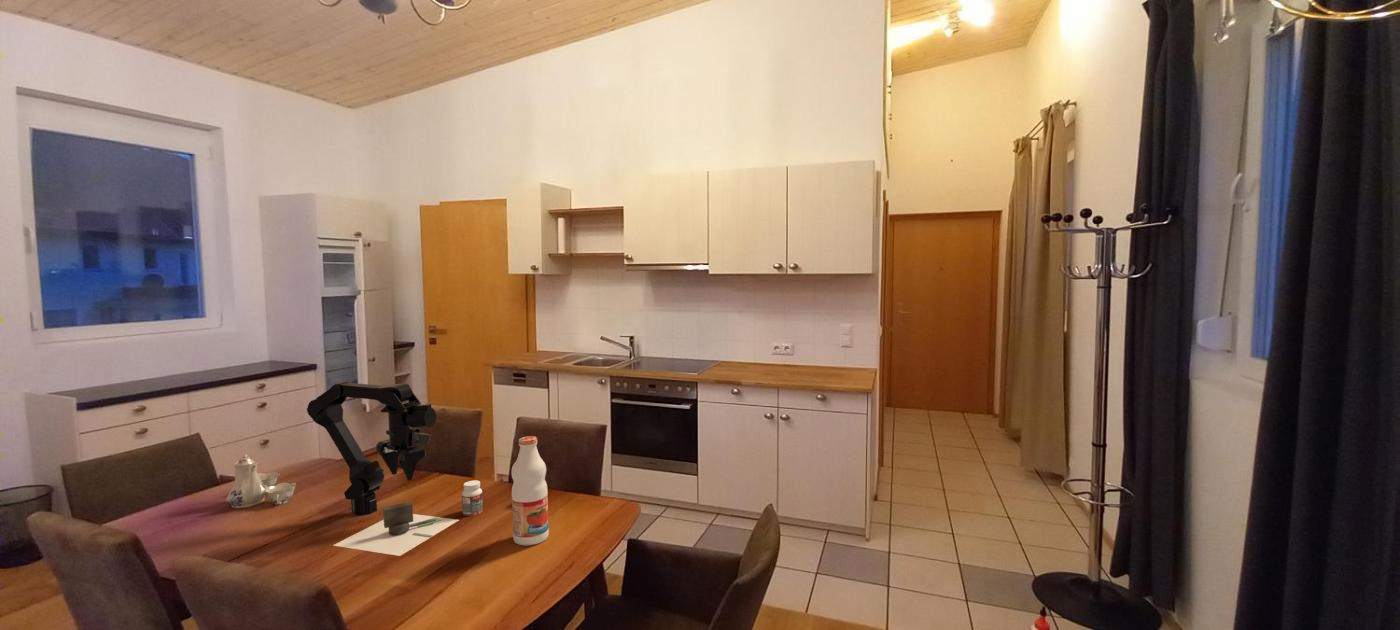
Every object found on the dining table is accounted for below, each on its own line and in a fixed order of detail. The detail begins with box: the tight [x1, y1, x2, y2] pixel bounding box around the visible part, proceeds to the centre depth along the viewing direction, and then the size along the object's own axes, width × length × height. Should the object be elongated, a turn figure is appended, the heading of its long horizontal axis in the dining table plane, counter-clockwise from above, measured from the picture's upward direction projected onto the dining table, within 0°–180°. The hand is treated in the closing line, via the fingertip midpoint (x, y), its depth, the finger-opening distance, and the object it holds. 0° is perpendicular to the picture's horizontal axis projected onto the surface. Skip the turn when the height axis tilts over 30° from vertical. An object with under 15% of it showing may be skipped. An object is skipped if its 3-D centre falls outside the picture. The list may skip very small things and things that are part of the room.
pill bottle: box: [461, 480, 484, 517], centre depth 170 cm, size 6×6×10 cm
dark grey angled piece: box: [382, 501, 436, 535], centre depth 158 cm, size 13×5×7 cm, turn 126°
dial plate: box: [333, 513, 460, 557], centre depth 157 cm, size 22×22×1 cm
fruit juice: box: [511, 435, 550, 546], centre depth 153 cm, size 9×9×28 cm
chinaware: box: [225, 453, 297, 509], centre depth 184 cm, size 28×17×17 cm, turn 57°
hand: (402, 477), depth 169 cm, fingers open, 9 cm apart
